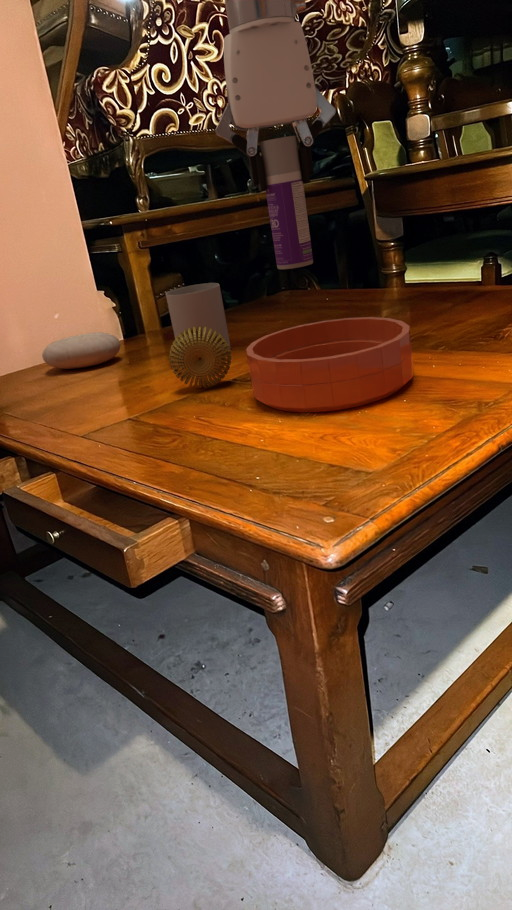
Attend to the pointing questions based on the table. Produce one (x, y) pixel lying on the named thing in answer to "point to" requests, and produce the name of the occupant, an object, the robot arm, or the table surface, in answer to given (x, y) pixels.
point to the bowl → (331, 364)
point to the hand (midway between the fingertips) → (284, 185)
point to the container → (286, 202)
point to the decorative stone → (81, 350)
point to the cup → (198, 309)
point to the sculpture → (200, 357)
